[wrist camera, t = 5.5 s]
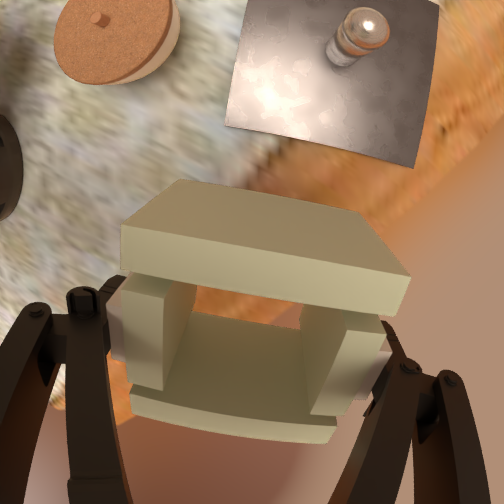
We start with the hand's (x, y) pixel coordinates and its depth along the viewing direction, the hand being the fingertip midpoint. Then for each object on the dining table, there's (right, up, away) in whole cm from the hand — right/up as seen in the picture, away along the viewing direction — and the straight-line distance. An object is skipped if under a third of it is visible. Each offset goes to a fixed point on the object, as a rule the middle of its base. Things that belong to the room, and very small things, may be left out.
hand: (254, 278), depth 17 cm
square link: (0, 0, 0) cm, 0 cm away
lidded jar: (-11, +22, +8) cm, 26 cm away
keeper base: (+8, +20, +8) cm, 23 cm away
